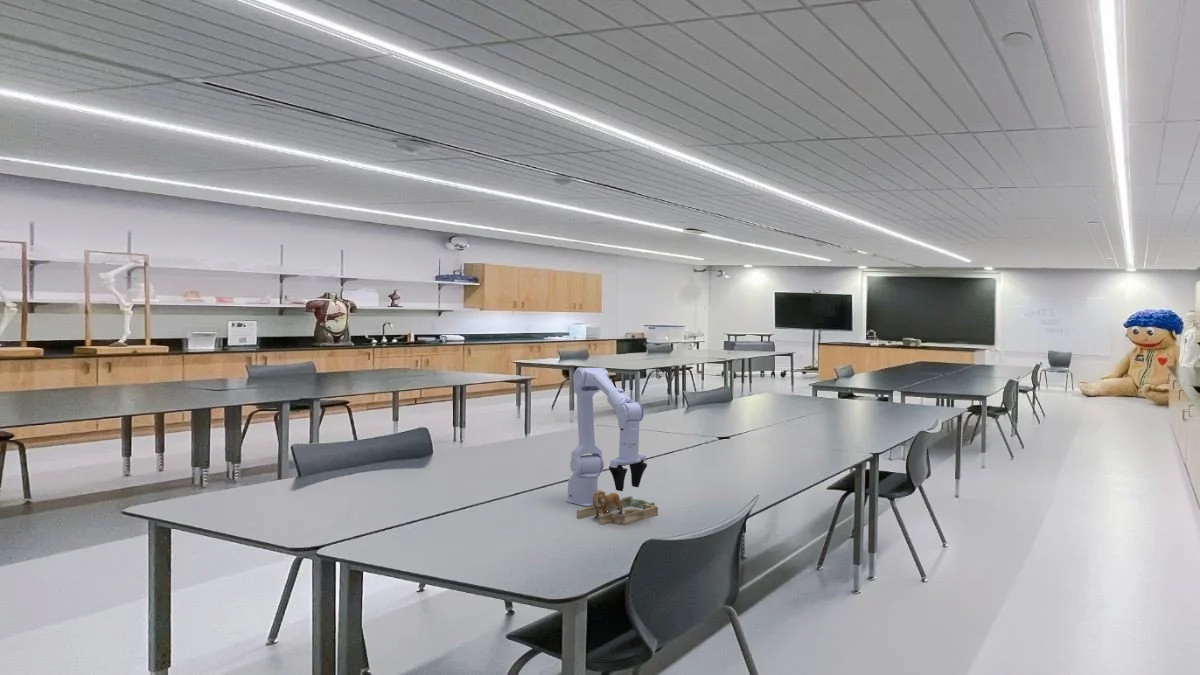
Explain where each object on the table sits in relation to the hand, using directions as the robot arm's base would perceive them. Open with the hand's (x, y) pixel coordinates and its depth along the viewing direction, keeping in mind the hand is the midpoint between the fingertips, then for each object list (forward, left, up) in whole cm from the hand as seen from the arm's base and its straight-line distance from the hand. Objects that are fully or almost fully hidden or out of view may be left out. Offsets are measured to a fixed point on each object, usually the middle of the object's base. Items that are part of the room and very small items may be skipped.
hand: (627, 488), depth 233 cm
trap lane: (-5, +4, -10) cm, 12 cm away
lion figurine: (-7, 0, -10) cm, 12 cm away
